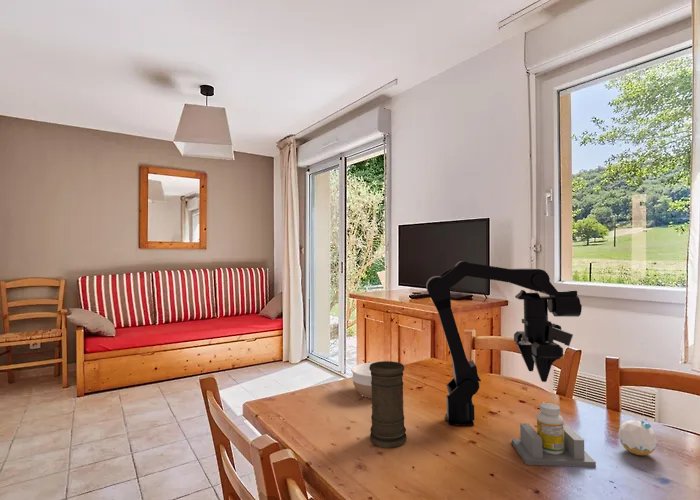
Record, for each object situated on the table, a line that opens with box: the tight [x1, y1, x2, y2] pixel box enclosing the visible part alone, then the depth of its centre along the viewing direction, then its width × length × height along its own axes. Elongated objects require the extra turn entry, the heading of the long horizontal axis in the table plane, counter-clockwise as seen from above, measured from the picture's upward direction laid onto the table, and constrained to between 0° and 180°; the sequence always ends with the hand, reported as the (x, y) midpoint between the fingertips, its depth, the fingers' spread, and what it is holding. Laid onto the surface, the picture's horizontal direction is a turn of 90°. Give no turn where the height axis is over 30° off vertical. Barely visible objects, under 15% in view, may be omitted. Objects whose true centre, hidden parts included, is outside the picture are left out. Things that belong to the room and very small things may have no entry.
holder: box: [511, 423, 597, 468], centre depth 89 cm, size 14×10×5 cm
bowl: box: [351, 362, 373, 399], centre depth 131 cm, size 16×16×8 cm
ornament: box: [617, 418, 657, 456], centre depth 89 cm, size 7×7×8 cm
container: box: [369, 360, 408, 449], centre depth 98 cm, size 9×9×18 cm
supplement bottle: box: [536, 402, 565, 455], centre depth 89 cm, size 5×5×10 cm
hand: (537, 376), depth 105 cm, fingers open, 9 cm apart
